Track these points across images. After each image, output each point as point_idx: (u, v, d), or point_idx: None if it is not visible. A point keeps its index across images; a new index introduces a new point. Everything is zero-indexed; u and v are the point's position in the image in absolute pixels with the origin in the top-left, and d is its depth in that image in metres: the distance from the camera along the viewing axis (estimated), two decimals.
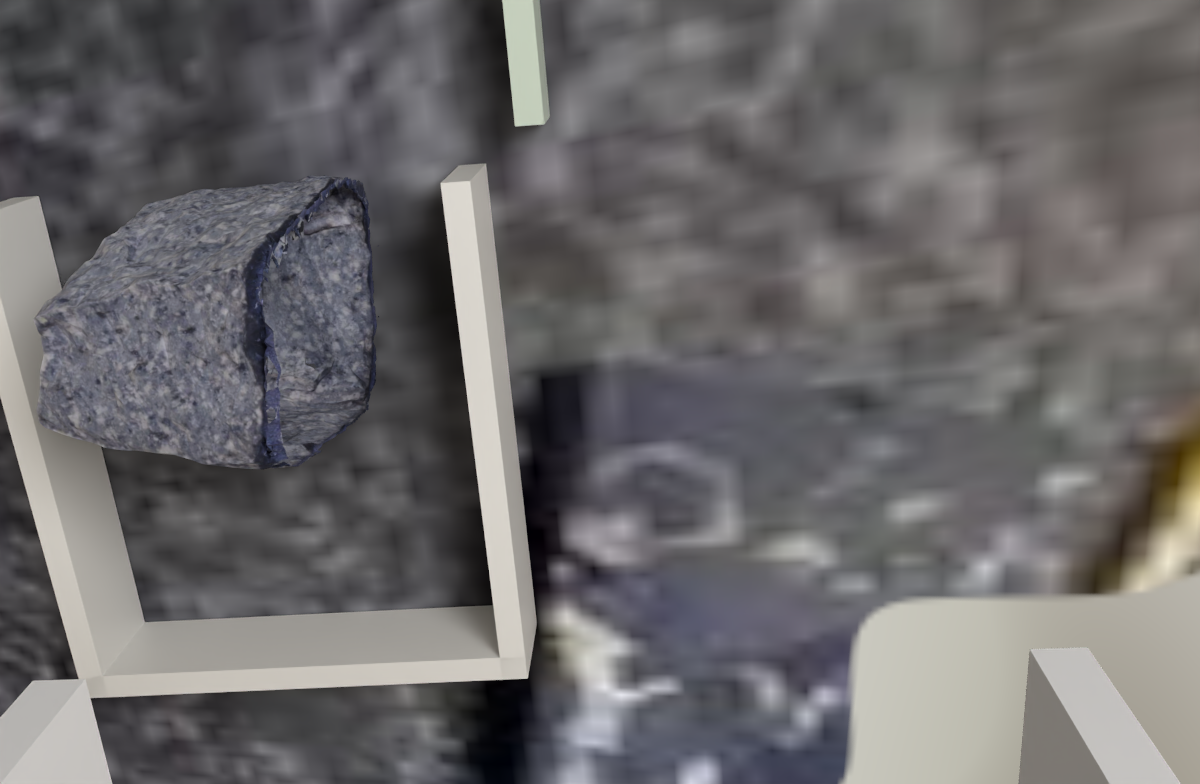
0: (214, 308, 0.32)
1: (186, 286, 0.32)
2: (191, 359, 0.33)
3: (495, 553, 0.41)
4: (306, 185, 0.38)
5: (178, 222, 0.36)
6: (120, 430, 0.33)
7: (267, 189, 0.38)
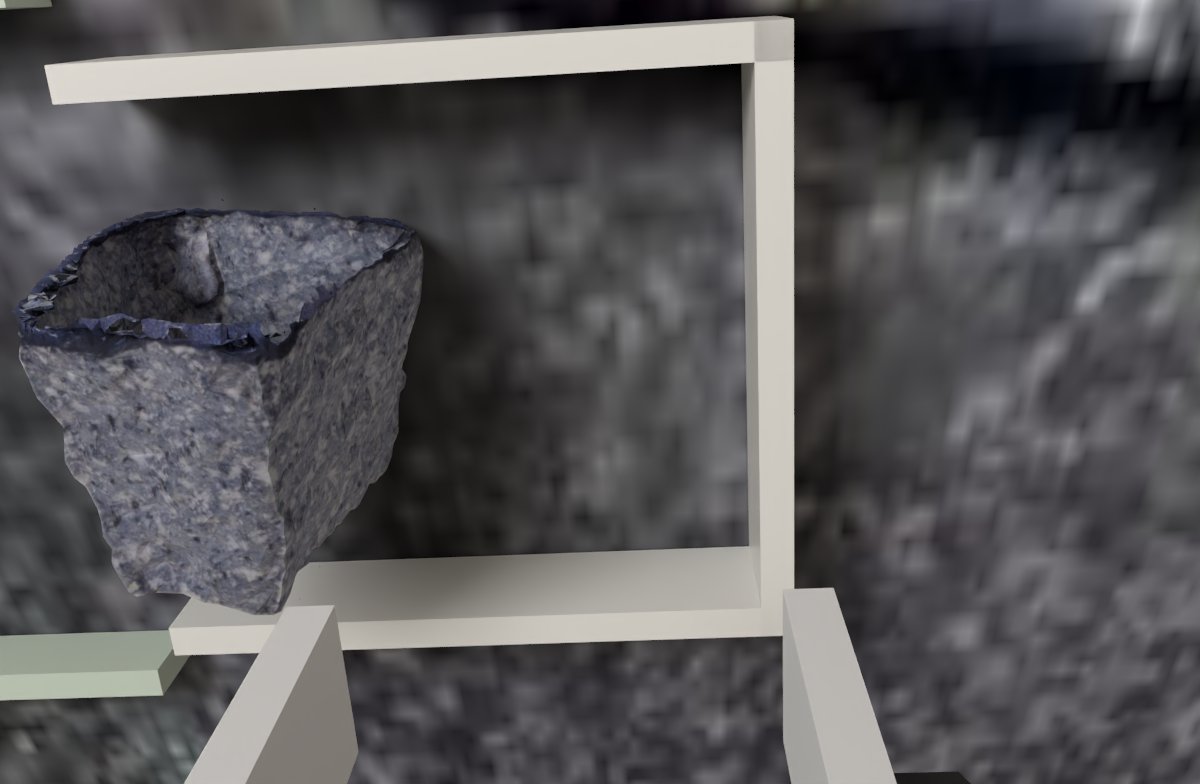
0: (71, 387, 0.25)
1: (58, 417, 0.26)
2: (143, 425, 0.26)
3: (576, 59, 0.28)
4: (104, 273, 0.32)
5: None
6: (251, 524, 0.26)
7: (124, 320, 0.33)
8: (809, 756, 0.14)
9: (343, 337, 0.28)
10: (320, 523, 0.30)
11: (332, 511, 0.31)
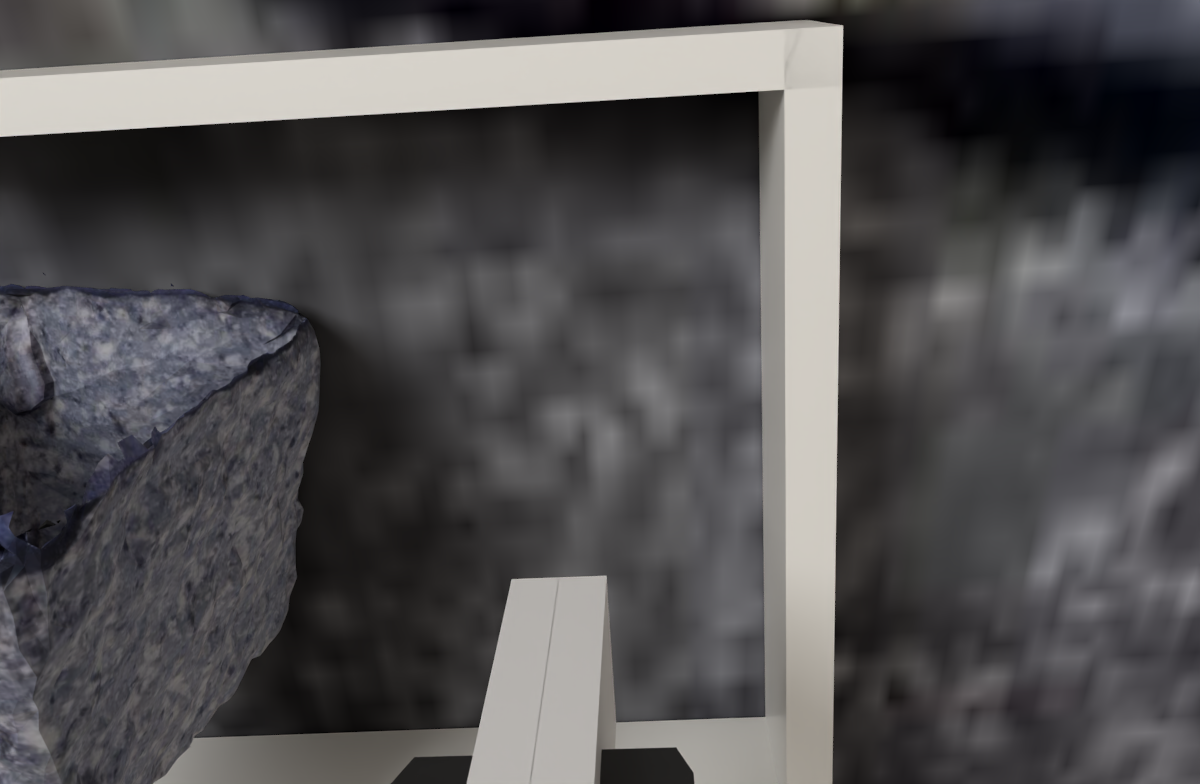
0: None
1: None
2: None
3: (522, 86, 0.19)
4: None
5: None
6: None
7: None
8: None
9: (180, 500, 0.19)
10: (163, 747, 0.21)
11: (185, 723, 0.22)
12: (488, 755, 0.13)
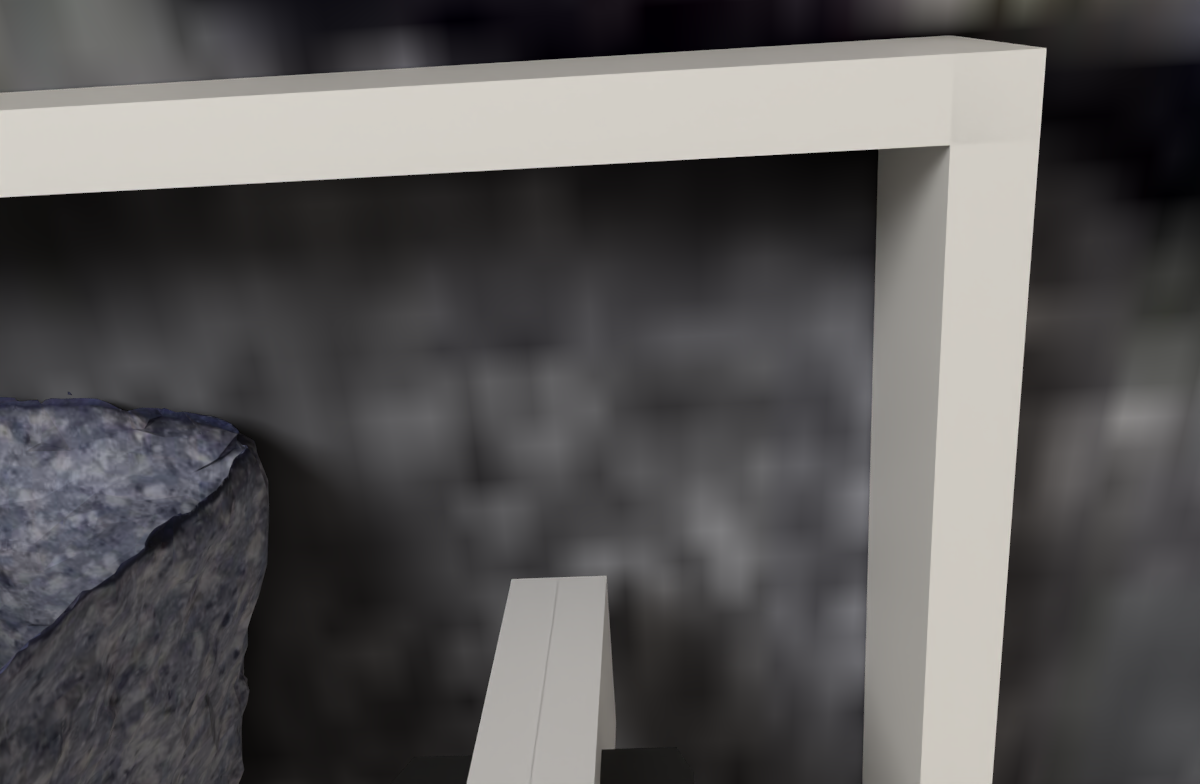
0: None
1: None
2: None
3: (549, 138, 0.13)
4: None
5: None
6: None
7: None
8: None
9: (25, 767, 0.12)
10: None
11: None
12: (488, 755, 0.13)
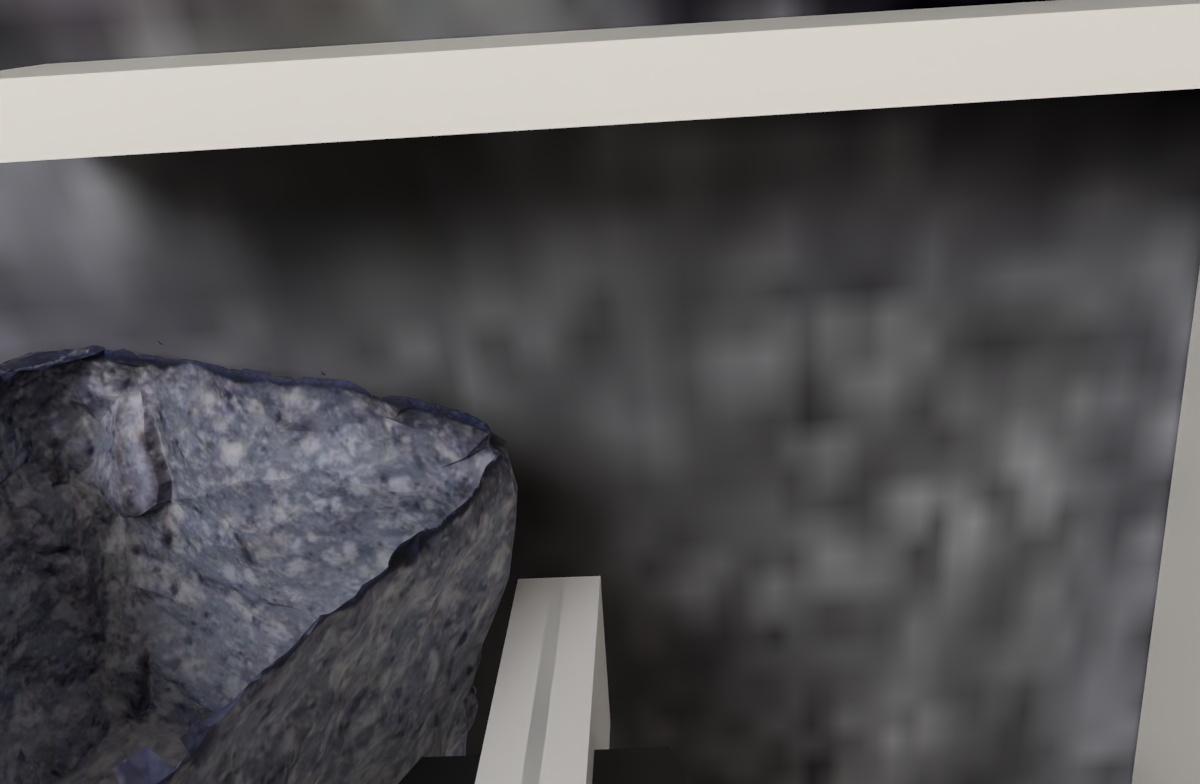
0: None
1: None
2: None
3: (1034, 71, 0.14)
4: None
5: None
6: None
7: None
8: None
9: None
10: None
11: None
12: (496, 755, 0.13)
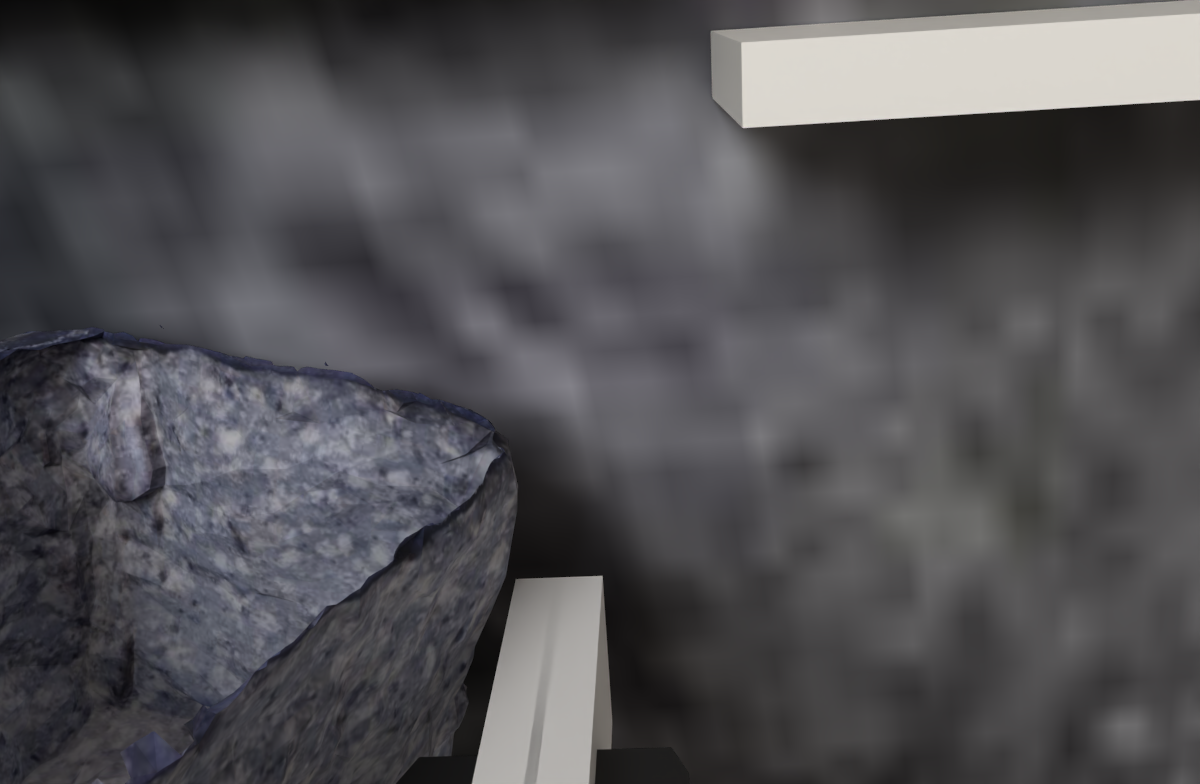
0: None
1: None
2: None
3: None
4: None
5: None
6: None
7: None
8: None
9: None
10: None
11: None
12: (493, 755, 0.13)
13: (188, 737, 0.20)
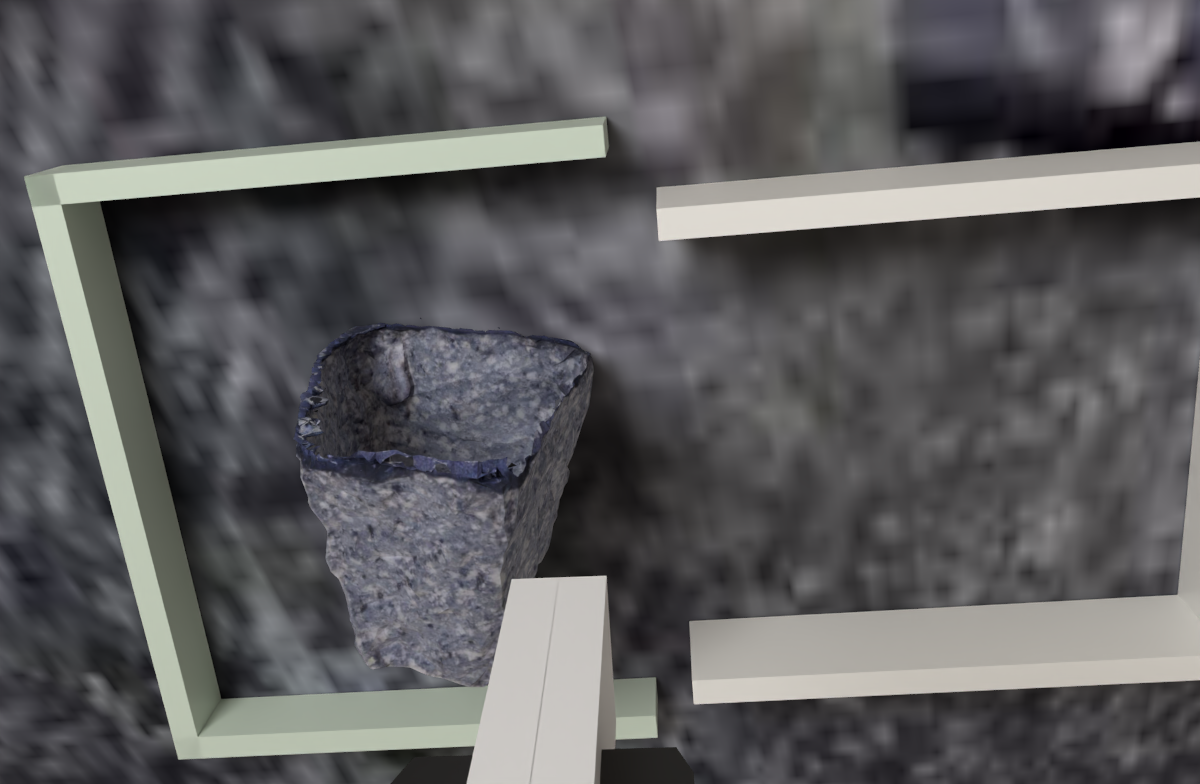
0: (343, 502, 0.31)
1: (326, 525, 0.31)
2: (398, 535, 0.31)
3: (1123, 192, 0.33)
4: (327, 384, 0.37)
5: None
6: (478, 616, 0.32)
7: (338, 421, 0.38)
8: None
9: (548, 457, 0.34)
10: None
11: None
12: (488, 755, 0.13)
13: None
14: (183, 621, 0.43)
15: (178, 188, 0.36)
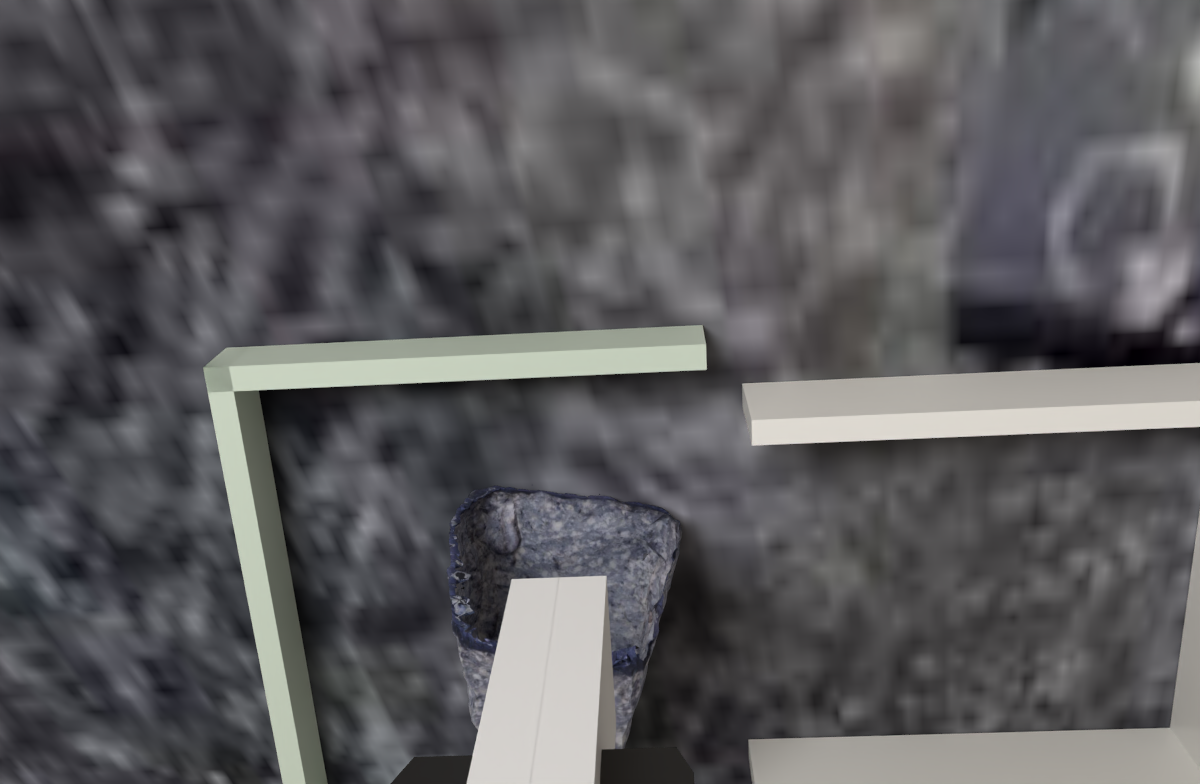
0: None
1: (476, 691, 0.38)
2: None
3: (1141, 420, 0.40)
4: None
5: None
6: None
7: None
8: None
9: None
10: None
11: None
12: (488, 755, 0.13)
13: None
14: (306, 733, 0.49)
15: (337, 382, 0.42)
